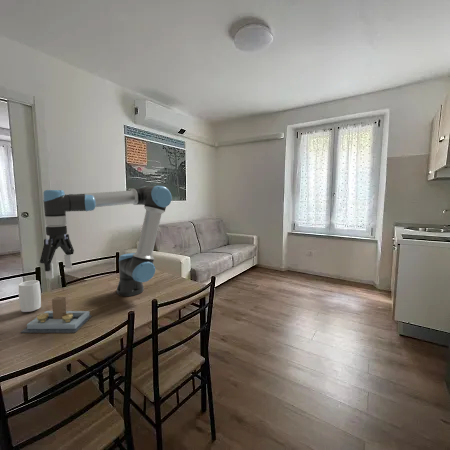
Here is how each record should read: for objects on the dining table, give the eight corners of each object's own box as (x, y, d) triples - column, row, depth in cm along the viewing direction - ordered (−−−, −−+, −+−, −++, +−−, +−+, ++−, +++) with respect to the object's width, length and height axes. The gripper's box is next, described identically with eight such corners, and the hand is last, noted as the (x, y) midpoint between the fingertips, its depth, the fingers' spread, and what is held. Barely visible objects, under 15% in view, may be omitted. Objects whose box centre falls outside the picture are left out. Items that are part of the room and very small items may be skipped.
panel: (75, 328, 105) (74, 304, 103) (27, 328, 104) (25, 304, 102) (89, 315, 117) (88, 293, 115) (46, 315, 116) (44, 292, 114)
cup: (24, 316, 115) (21, 287, 114) (17, 311, 120) (14, 283, 118) (45, 309, 122) (43, 282, 121) (37, 305, 127) (35, 278, 125)
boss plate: (91, 316, 117) (91, 305, 116) (75, 332, 103) (74, 320, 102) (44, 316, 116) (43, 305, 115) (20, 332, 102) (19, 320, 101)
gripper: (64, 222, 118) (67, 264, 121) (25, 229, 94) (30, 283, 97) (80, 222, 119) (82, 264, 122) (46, 229, 94) (50, 282, 97)
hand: (59, 272), depth 109 cm, fingers open, 13 cm apart
